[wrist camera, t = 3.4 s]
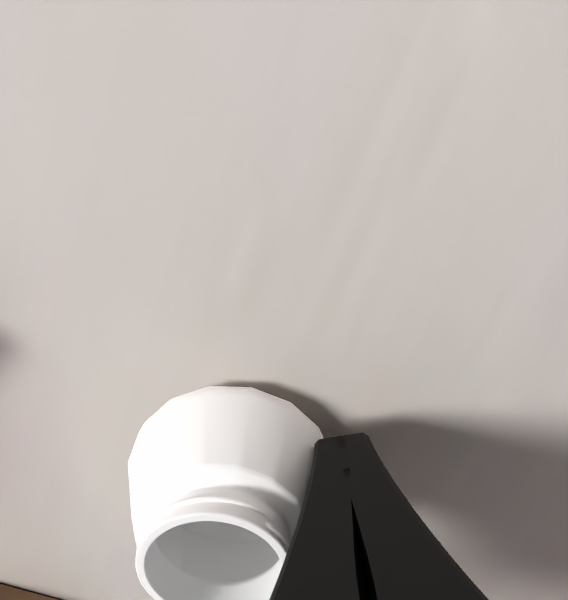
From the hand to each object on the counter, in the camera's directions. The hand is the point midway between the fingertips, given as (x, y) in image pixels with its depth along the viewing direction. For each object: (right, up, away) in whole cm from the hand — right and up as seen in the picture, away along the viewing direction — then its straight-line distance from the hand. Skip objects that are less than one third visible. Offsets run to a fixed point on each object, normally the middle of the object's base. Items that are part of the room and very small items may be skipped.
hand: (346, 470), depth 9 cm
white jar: (-3, 0, +1) cm, 3 cm away
